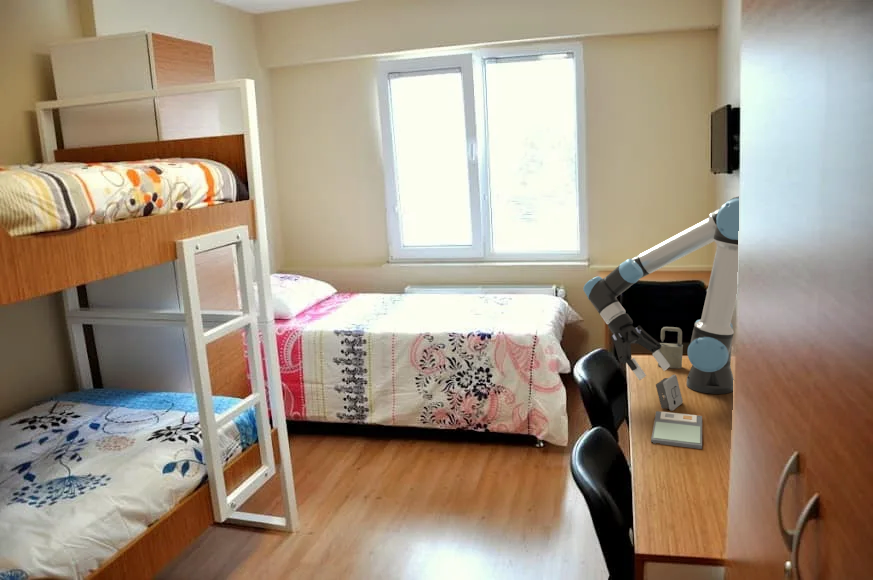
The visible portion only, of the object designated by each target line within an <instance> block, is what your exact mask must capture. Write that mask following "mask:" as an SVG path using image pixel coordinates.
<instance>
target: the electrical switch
mask: <svg viewBox="0 0 873 580" xmlns="http://www.w3.org/2000/svg"><path fill="white" fill-rule="evenodd" d="M655 388H656V392H657V395H658V400H659V403H660V408H661V409H669V410H670V411H671V412H672V411H674V410H676V409H677V408H678V407H679V406H680V405H682V404H683V402H684V401H683V397H682V393H681V389H680V384H679V381H678V376H677V375H676V374H672V375H670V376H669V377H665V378H663V379H661V380H660V381H659V382H658V383H656V384H655ZM670 411H669V412H670Z"/></svg>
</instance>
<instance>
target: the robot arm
mask: <svg viewBox="0 0 873 580" xmlns="http://www.w3.org/2000/svg"><path fill="white" fill-rule="evenodd" d="M738 231H739V196H735V197H733V198H731V199H729V200H727V201H726V202H725V203H723V204H722V205H721V207H719V208H717V209H715V210H713V211H712V212H710V213H709V216H708V217H707V218H704V219H703V220H702V221H700V222H698V223H695V224H694V225H692V226H690V227H688V228H686V229H684V230H682V231H680V232H679V233H676V234H675V235H673V236H671V237H669V238H668V239H665V240H664V241H662V242H659V243H658V244H656V245H654V246H652V247H650V248H649V249H647V250H644V251H643V252H640V253H639V254H638V255H636V256H634V257H632V258H631V257H630V258H627V259H626V260H624V261H622V262H621V263H620V264H619V265H618V266H617V267H616V268H614V269H613V270H612V271H611V272H610V273H609V274H607V275H606V276H605V277H601V276H598V275H597V276H595V277H593V278H591V279H589V280H588V281H587V282H586V283H584V286H583V288H582V289H583V292H584V293H585V295H586V297H587V299H588V301H589V302H590V303H591V304H592V305H593V307H594V308H595V310H596V311H597V313H598V314H599V315H600V317H601V318H602V319H603V321H604V323H605V324H606V325H607V327H608V329H609V330H610V332H611V333H612V335H611V337H610V338H611V340H612V341H613V343H614V347H615V351H616V354H617V358H618V360H619V362H620V363H622V364H623V365H626V364H627V365H628V367H629V369H630V370H631V371H632V372H633V373H634V375H635V377H636V378H637V380H639V381H641V380H642V379H644V378H645V377H646V376H647V374H646V373H645V371H644V370H643V369H642V367H641V365H640V364H639V362H637V360H636V359H635V357H632V347H631V346H632V344H636V345H639V346H641V347H643V348H644V349H646V350H648V351H649V352H651V353H652V357H653V358H654V359H655V361H656V362H657V364H658V363H659V365H660V366H661V367H660V366H659V367H660V368H661V369H662V370H663V372H665V371H666V370H668V369H670V368H669V367H670V364H669V363H668V362H667V360H666V359H665V357H664V356H663V354H662V353H661V352H660V350H659V349H660V348H661V344H660V343H661V342H659V341H658V340H656V339H655V338H653V337H652V335H650V334H649V333H648V332H647V331H645V330H644V328H643V327H642V326H641V325H638V326H637V327H634V326H633V323H634V322H633V321H634V320H633V319H632V318H631V317H630V315H629V314H628V313H626V309H625V308H624V307H623V306H622V304H621V303H620V301H619V300H618V298H617V297H618V296H620V295H621V294H622V293H624V292H625V291H627V290H628V289H629V288H631V286H633V285H634V284H636V283H637V282H638V281H639V280H640V279H643V278H644V277H646V276H648V275H651V274H652V273H654V272H656V271H658V270H660V269H662V268H664V267H666V266H668V265H670V264H672V263H674V262H676V261H678V260H679V259H682V258H684V257H686V256H688V255H690V254H692V253H694V252H695V251H697V250H700V249H702V248H704V247H706V246H708V245H710V244H712V243H713V242H714V243H715V244H716V250H715V254H714V257H713V263H712V267H711V272H710V275H709V276H710V277H709V281H708V287H707V289H706V295H705V298H704V299H705V300H704V305H703V309H702V313H701V318H700V319H697V320H696V321H695V322H694V325H693V326H694V327H693V330H692V335H691V339H690V343H689V344H688V347H687V358H688V361H689V362H690V363H691V367H690V370H689V371H688V375H687V377H686V387H688V388H689V389H691V390H693V391H696V392H699V393H705V394H711V395H712V394H713V395H721V394H724V395H726V394H729V393H733V392H734V391H733V380H734V381H735V379H734V375H733V372H732V366H731V365H732V363H731V360H732V346H733V345H732V344H733V338H734V333H735V331H734V329H733V327H734V326H733V323H732V319H733V313H734V312H735V311H734V310H735V306H736V302H737V298H736V294H737V272H738ZM737 295H738V294H737Z"/></svg>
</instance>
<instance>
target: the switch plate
mask: <svg viewBox="0 0 873 580" xmlns="http://www.w3.org/2000/svg"><path fill="white" fill-rule="evenodd" d="M653 421H654V422H653V426H652V434H651V438H650V439H651V440H650V443H651V442H653V443H652V444H656V443H660V444H659V445H666V446H673V447H674V446H675V447H682V448H689V449H690V448H691V449H699V450H703V415H696V414H688V413H681V412H680V413H678V412H670V411H669V412H668V411H659V410H656V411H655V416H654V420H653Z"/></svg>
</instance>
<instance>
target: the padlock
mask: <svg viewBox="0 0 873 580" xmlns="http://www.w3.org/2000/svg"><path fill="white" fill-rule="evenodd" d="M666 331H667V332H677V343H667V342H664V340H665V338H666ZM660 340H661V342H659V343H660V344H661V348H660V349H659V350H660V352H661V353H662V354H663V356H664V357H665V359H666V360H667V362H668V363H669V364H670V367H669V368H668V369H682V367H683V366H682V365H683V347H684V345H683V344H682V343H683V331H682V329H681V328H680V327H674V326H663V327H662V328H661V330H660ZM657 367H660V368H661V366H660V365H659V363H658V362H657Z"/></svg>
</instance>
